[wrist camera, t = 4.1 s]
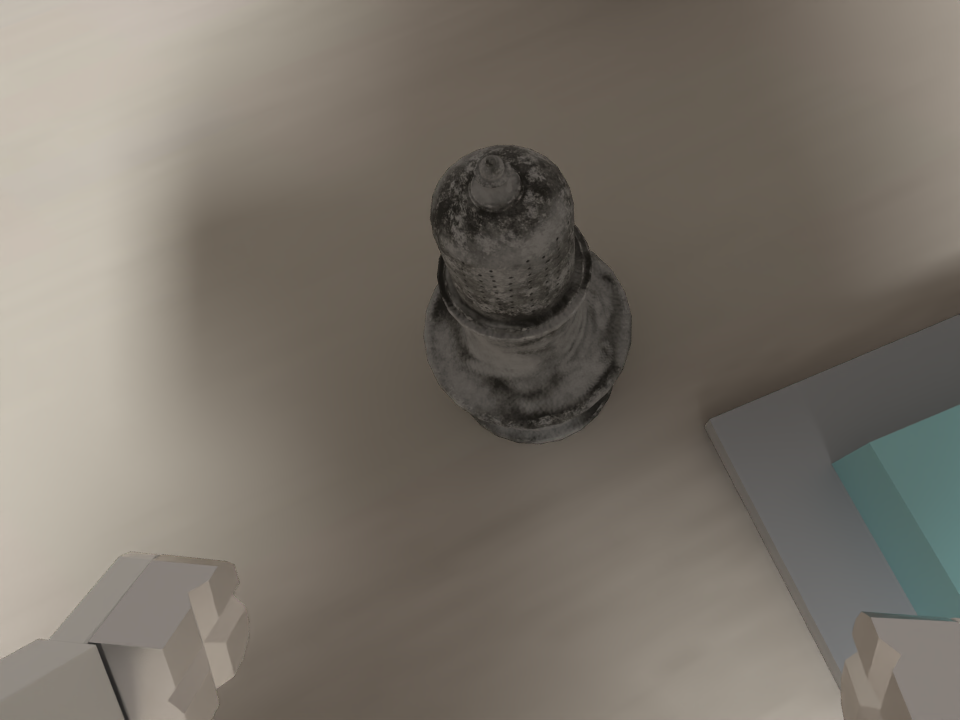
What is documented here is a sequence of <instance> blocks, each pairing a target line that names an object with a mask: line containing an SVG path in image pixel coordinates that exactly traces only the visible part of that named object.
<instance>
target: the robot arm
mask: <svg viewBox="0 0 960 720" xmlns="http://www.w3.org/2000/svg"><path fill="white" fill-rule="evenodd" d="M239 583H240V581H239V578H238V574H237V571H236V568H235V565H234V564H232V563H230V562H227V561H220V560H211V559H201V558H192V557H183V556H173V555H164V554H162V555H156V554H147V553H138V552H128V553H126V554H124V555H122V556H120V557H118V558H117V560H116V561H115V562H114V563H113V564H112V565H111V567H110V568H109V569H108V570H107V571H106V573H105V574H104V575H103V576H102V577H101V578H100V580H99V581H98V582H97V583H96V584H95V586H94V587H93V588H92V589H91V590H90V591H89V593H88V594H87V595H86V596H85V597H84V599H83V600H82V601H81V602H80V603H79V604H78V606H77V607H76V608H75V609H74V610H73V611H72V613H71V614H70V615H69V616H68V617H67V619H66V620H65V621H64V622H63V623H62V624H61V626H60V627H59V628H58V629H57V630H56V632H55V633H54V634H53V635H52V636H51V637H50V639H49V640H45V639H37V640H35V641H34V642H32V643H30V644H28V645H26V646H24V647H23V648H21V649H19V650H17V651H15V652H13V653H12V654H10V655H8V656H6V657H4V658H3V659H1V660H0V720H212V718H213V716H214V714H215V712H216V710H217V708H218V707H219V705H220V704H219V699H218V695H217V690H216V689H217V688H219V687H220V686H222V685H223V684H224V683H226V682H227V681H229V680H230V679H231V678H233V677H234V676H235V675H236V673H237V671H238V669H239V667H240V665H241V663H242V661H243V659H244V655H245V651H246V647H247V643H248V639H249V617H248V613H247V609H246V606H245V605H244V604H243V603H242V602H241V601H240V600H239V599H238V598H237V597H236V596H235V595H234V592H235V590H236V588H237V587H238V585H239ZM852 637H853V640H854V643H855V645H856V648H857V652H856V653H855V654H853V655H852V656H850V657H849V658H848V659H846V660H845V663H844V667H843V672H842V677H841V706H842V712H843V718H844V720H960V618H950V619H949V618H946V617H933V616H919V615H905V614H891V613H877V612H861V613H860V614H859V616H858V617H857V618H856V620H855V624H854V627H853V631H852Z"/></svg>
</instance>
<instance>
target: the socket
mask: <svg viewBox="0 0 960 720" xmlns="http://www.w3.org/2000/svg"><path fill="white" fill-rule="evenodd" d="M704 427H705V429H706V431H707V433H708V435H709V437H710V439H711V441H712V443H713V445H714V447H715V449H716V451H717V453H718V455H719V456H720V458H721V460H722V462H723V464H724V466H725V468H726V470H727V472H728V474H729V476H730V478H731V480H732V482H733V484H734V485H735V487H736V489H737V491H738V493H739V495H740V497H741V499H742V501H743V503H744V505H745V507H746V509H747V511H748V513H749V515H750V516H751V518H752V520H753V522H754V524H755V526H756V528H757V530H758V532H759V534H760V536H761V538H762V540H763V542H764V544H765V545H766V547H767V549H768V551H769V553H770V555H771V557H772V559H773V561H774V563H775V565H776V567H777V569H778V571H779V573H780V575H781V576H782V578H783V580H784V582H785V584H786V586H787V588H788V590H789V592H790V594H791V596H792V598H793V600H794V602H795V604H796V605H797V607H798V609H799V611H800V613H801V615H802V617H803V619H804V621H805V623H806V625H807V627H808V629H809V631H810V633H811V635H812V636H813V638H814V640H815V642H816V644H817V646H818V648H819V650H820V652H821V654H822V656H823V658H824V660H825V662H826V664H827V665H828V667H829V669H830V671H831V673H832V675H833V677H834V679H835V681H836V683H837V685H838V687H839V689H840V691H841V677H842V672H843V667H844V663H845V660H846V659H848V658H849V657H850V656H852V655H853V654H855V653H856V652H857V648H856V645H855V643H854V640H853V637H852V631H853V627H854V624H855V620H856V618H857V617H858V616H859V614H860V613H861V612H877V613H891V614H905V615H919V616H933V617H946V618H949V619H950V618H960V314H959V315H956V316H954V317H952V318H949V319H947V320H944V321H942V322H940V323H937V324H935V325H933V326H930V327H928V328H925V329H923V330H921V331H918V332H916V333H914V334H911V335H909V336H906V337H904V338H902V339H899V340H897V341H894V342H892V343H890V344H887V345H885V346H883V347H880V348H878V349H875V350H873V351H871V352H868V353H866V354H863V355H861V356H859V357H856V358H854V359H852V360H849V361H847V362H844V363H842V364H840V365H837V366H835V367H833V368H830V369H828V370H825V371H823V372H821V373H818V374H816V375H813V376H811V377H809V378H806V379H804V380H802V381H799V382H797V383H794V384H792V385H790V386H787V387H785V388H783V389H780V390H778V391H775V392H773V393H771V394H768V395H766V396H763V397H761V398H759V399H756V400H754V401H752V402H749V403H747V404H744V405H742V406H740V407H737V408H735V409H733V410H730V411H728V412H725V413H723V414H721V415H718V416H716V417H713V418H711V419H709V420H708V422H707V423H706V425H705V426H704Z"/></svg>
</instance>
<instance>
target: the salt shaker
mask: <svg viewBox="0 0 960 720" xmlns="http://www.w3.org/2000/svg"><path fill="white" fill-rule="evenodd" d="M430 220H431V225H432V231H433V235H434V238H435V240H436V243H437V245H438V247H439V250H440V252H441V255H440V258H439V264H438V273H437V279H438V285H437V286H436V288H435V290H434V293H433V295H432V298H431V300H430V303H429V306H428V308H427V311H426V319H425V328H424V342H425V348H426V354H427V360H428V363H429V365H430V367H431V369H432V371H433V373H434V375H435V377H436V379H437V382H438V384H439V385H440V386H441V387H442V389H443V390H444V391H445V392H446V393H447V394H448V395H449V397H450V398H451V399H452V400H453V401H454V402H455V403H456V405H458V406H459V407H461V408H462V409H464V410H466V411H467V412H469V413H470V414H471V415H472V416H473V417H474V418H475V419H476V420H477V422H478V423H479V424H480V425H482V426H483V427H485V428H486V429H488V430H489V431H491V432H492V433H494V434H495V435H497V436H499V437H502V438H505V439H508V440H511V441H514V442H517V443H532V444H542V443H547V442H552V441H557V440H562V439H564V438H566V437H568V436H570V435H572V434H574V433H576V432H578V431H580V430H581V429H583V428H584V427H585V426H586V425H587V424H588V423H589V422H590V421H592V420H593V419H594V418H595V417H596V416H597V415H598V414H599V412H600V411H601V409H602V408H603V406H604V405H605V403H606V401H607V400H608V398H609V396H610V393H611V390H612V387H613V384H614V382H615V381H616V379H617V378H618V376H619V375H620V373H621V371H622V370H623V367H624V364H625V361H626V358H627V355H628V351H629V348H630V345H631V321H632V316H631V313H630V309H629V305H628V301H627V298H626V294H625V291H624V289H623V288H622V286H621V284H620V283H619V281H618V279H617V278H616V276H615V275H614V273H613V271H612V270H611V269H610V268H609V267H608V266H607V265H606V264H605V263H604V262H603V261H602V260H601V259H600V258H599V257H598V256H597V255H595V254H594V253H593V252H592V251H590V250H589V248H588V244H587V242H586V240H585V239H584V237H583V235H582V234H581V232H580V230H579V229H578V227H576V226H575V225H574V203H573V199H572V195H571V191H570V187H569V186H568V184H567V182H566V180H565V178H564V177H563V175H562V173H561V172H560V170H559V169H558V167H557V166H556V165H555V164H553V163H552V162H551V161H550V160H549V159H548V158H547V157H546V156H544V155H542V154H540V153H538V152H536V151H533V150H531V149H528V148H524V147H519V146H515V145H496V146H491V147H487V148H483V149H479V150H476V151H474V152H472V153H470V154H468V155H466V156H464V157H462V158H461V159H460V160H458V161H457V162H456V163H455V164H453V165H452V166H451V167H450V168H449V169H448V170H447V171H446V172H445V174H444V175H443V176H442V178H441V179H440V180H439V182H438V184H437V186H436V189H435V191H434V194H433V196H432V205H431V216H430Z"/></svg>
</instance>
